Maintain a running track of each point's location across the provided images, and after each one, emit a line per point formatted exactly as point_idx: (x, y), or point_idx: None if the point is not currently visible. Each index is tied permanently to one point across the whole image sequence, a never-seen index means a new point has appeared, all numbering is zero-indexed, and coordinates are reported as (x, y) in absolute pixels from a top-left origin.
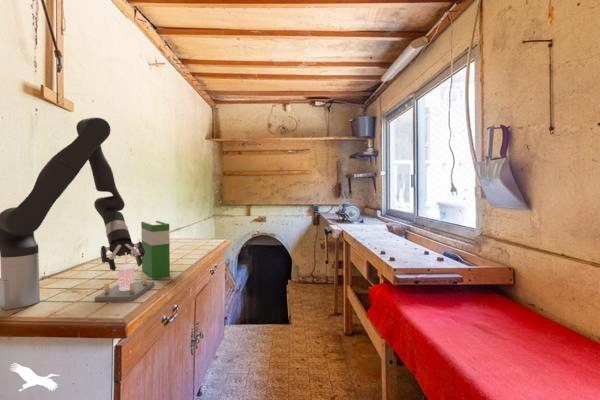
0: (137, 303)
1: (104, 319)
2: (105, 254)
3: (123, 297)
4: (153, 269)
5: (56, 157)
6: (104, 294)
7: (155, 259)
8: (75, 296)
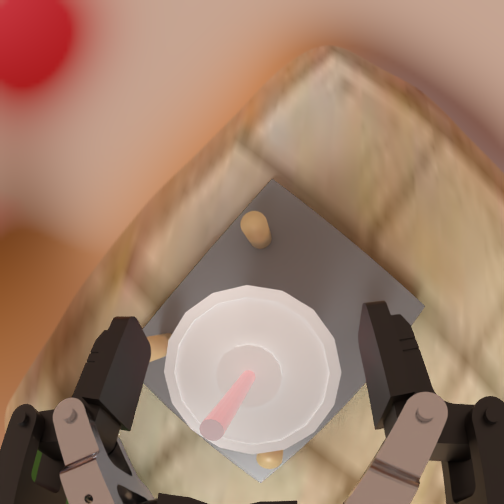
0: (263, 142)
1: (383, 78)
2: (492, 464)
3: (309, 208)
4: None
5: None
6: None
7: None
8: None
